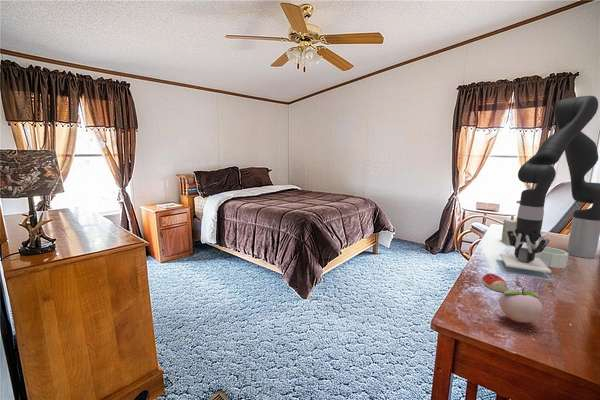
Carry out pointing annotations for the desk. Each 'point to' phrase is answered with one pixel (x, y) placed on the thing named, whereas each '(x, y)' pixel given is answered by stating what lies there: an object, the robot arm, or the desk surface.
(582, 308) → the desk surface
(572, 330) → the desk surface
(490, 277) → the ladybug figurine
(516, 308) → the decorative fruit
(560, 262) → the bowl
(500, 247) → the desk surface
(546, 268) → the lid
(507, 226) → the skincare box
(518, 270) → the mat
